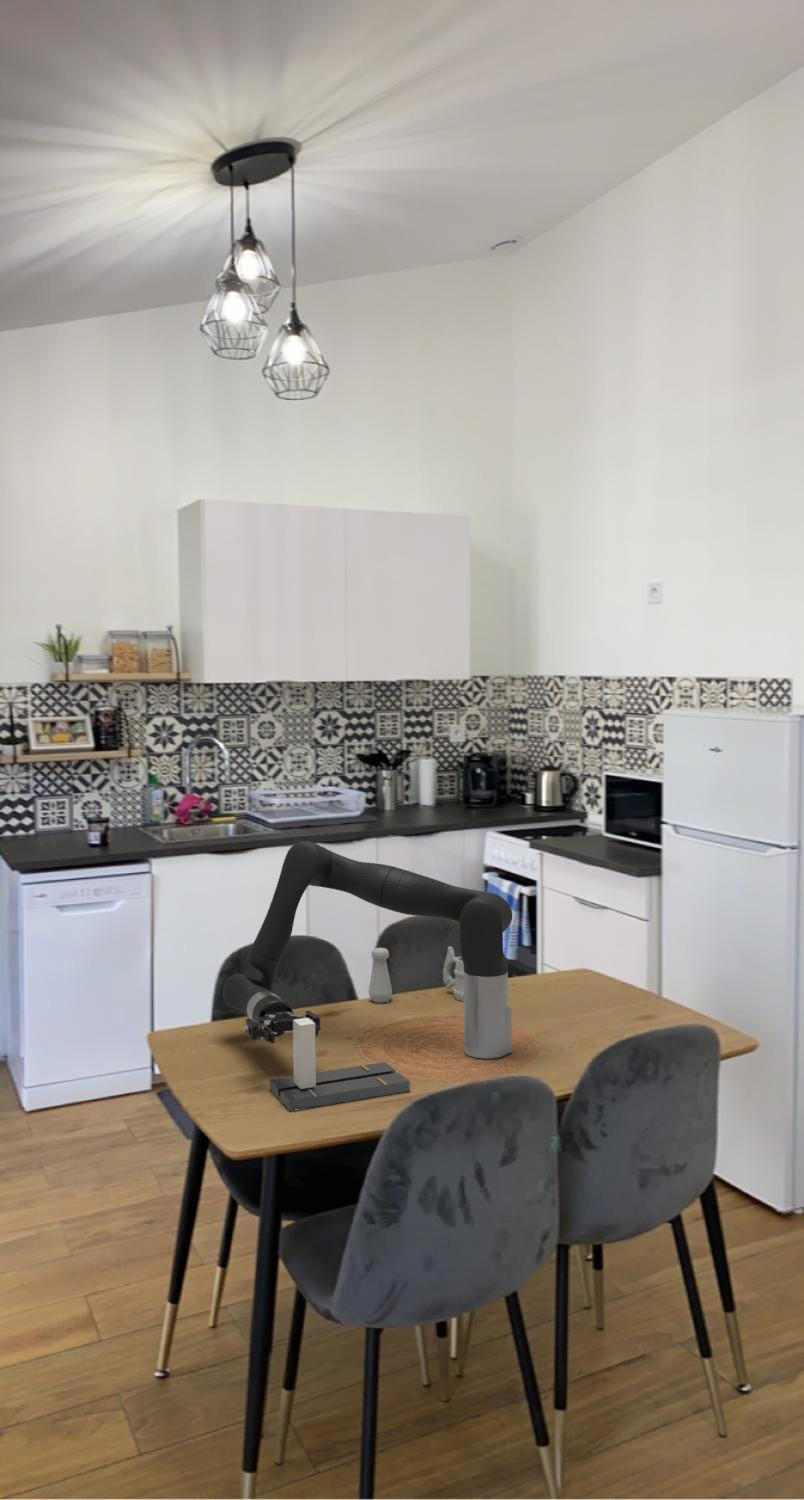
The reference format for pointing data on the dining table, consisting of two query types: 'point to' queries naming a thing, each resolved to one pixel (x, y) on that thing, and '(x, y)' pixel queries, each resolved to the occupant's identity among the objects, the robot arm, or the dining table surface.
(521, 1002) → the dining table surface
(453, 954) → the mug
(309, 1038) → the slider handle
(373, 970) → the salt shaker
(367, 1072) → the mixer console
